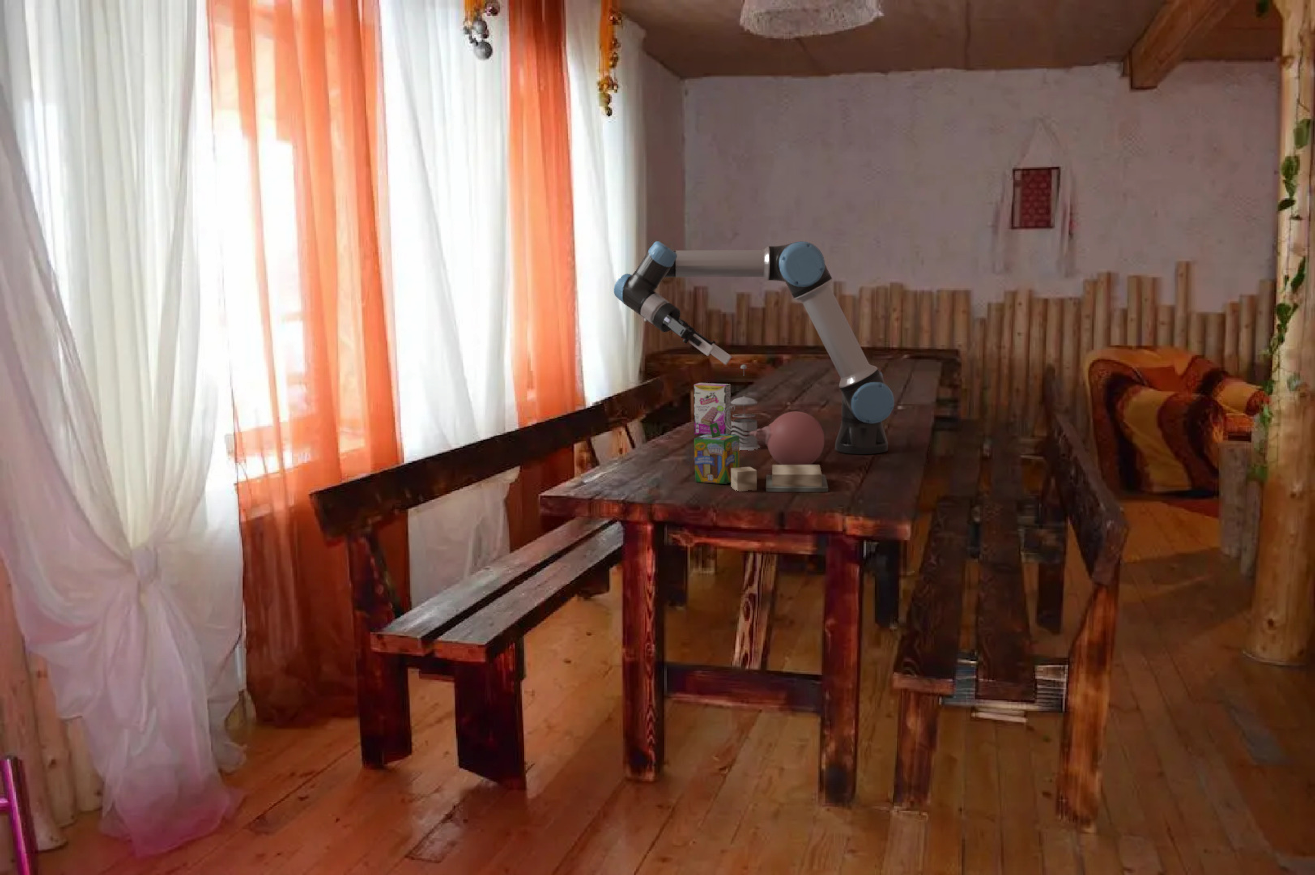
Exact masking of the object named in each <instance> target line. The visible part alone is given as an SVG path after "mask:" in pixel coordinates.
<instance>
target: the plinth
mask: <svg viewBox="0 0 1315 875" xmlns="http://www.w3.org/2000/svg"><path fill="white" fill-rule="evenodd" d="M771 470H772V471H771V473H772V474H766V478H765V480H766V481H765V492H767V493H772V492H773V493H776V492H777V493H780V492H781V493H782V492H784V493H787V492H788V493H789V492H790V493H791V492H793V493H797V492H798V493H799V492H801V493H808V492H809V493H817V492H818V493H828V492H829V485H828V480H827V478H826V475H825V474H822V471H821V470H822V468H821V465H820V464H810V465H781V464H772V465H771Z"/></svg>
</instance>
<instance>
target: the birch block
mask: <svg viewBox="0 0 1315 875" xmlns="http://www.w3.org/2000/svg"><path fill="white" fill-rule="evenodd" d="M757 474H758V472H757V469H755V468H753V467H751V466H741V467H740V468H731V482H730V487H732V488H731V489H733V490H735V491H736V490H737V491H739V492H748V490H752V491H758V490H757V488H758V484H757V483H758V482H757V480H758V475H757ZM737 491H736V492H737Z"/></svg>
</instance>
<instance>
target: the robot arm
mask: <svg viewBox="0 0 1315 875" xmlns="http://www.w3.org/2000/svg"><path fill="white" fill-rule="evenodd" d="M825 263H826V260H825V257H824V254H823V253H822V251H821V250H820V249H819V248H818V247H817V246H816V245H814V244H813V243H810V242H807V241H795V242H792V243H786V244H783V245H771V246H769V245H768V246H766V247H765V248H764V249H727V250H726V249H723V250H721V249H717V250H715V249H714V250H713V249H712V250H711V249H708V250H707V249H705V250H704V249H703V250H702V249H701V250H699V249H698V250H673V249H671V248H670V247H669V246H667V245H665V244H664V243H663V242H661V241H660V240H658V241H657V240H656V241H655V242H653V244H652V245H651V247H649V249H648V251H647V253H646V254H645V255H644V257H643V259H642V260H641V262H640V263H639V265H638V266H637V268H636V269H635V271H634V272H633V273H632V274H630V273H625V274H623V275H621V277H620V278H618V279H617V280H616V282H615V284H614V287H613V295H614V296H615V297H616V298H617V299H618V300H619V301H621V303H623V304H624V305H625V306H626V307H628V308H629V309H631V310H633V311H634V312H635V313H637V314H638V315H639V316H640V317H642V318H644V319H643V322H646V323H647V322H648V323H650V324H652V325H653V326H654V327H655V328H657V329H658V330H660V331H661V332H662V333H668V332H670V331H671V332H673V333H674V334H676V335H678V336H680V338H681V339H683V340H682V342H684V343H685V344H686V345H687V344H688V343H689V344H690V345H692V346H693V347H694V348H696V349H697V350H699V351H700V352H701V353H703V355H706V356H707V357H709V355H710V354H711V355H712V356H713V357H714V358H715V359H717V360H718V361H720V362H721V363H722V364H723V365H726V366H727V365H728V363H729V361H730V360H731V359H732V357H733V356H732V355H731V354H729V353H727V352H726V351H725V350H723V348H721V347H719V346H718V345H716V341H715V340H713V341H711V340H710V339H708V338H706V337H705V336H703V335H702V334H701V333H699V332H698V331H696V330H695V328H694V327H692V326H691V325H690V324H688V322H687V321H685V320H684V319H681V310H680V309H679V308H678V307H677V306H675V305H674V304H672V303H671V302H669V300H667V299H666V298H664V297H663V296H662V295H660V294H659V293H657V292H655V291H656V290H657V289H658V288H659V287H658V286H660V284H661V282H662V281H663V279H664V278H743V277H744V278H764V279H765V280H766V281H776V282H784V283H785V284H786V286H787V288H788V290H789V292H790V294H791V297H792V298H793V299H794V300H796V301H800V302H801V303H802V305H803V307H804V309H805V311H806V312H807V315H808V317H809V319H810V321H811V323H812V324H813V326H814V328H815V330H816V332H817V335H818V336H819V338H820V340H821V342H822V344H823V346H824V348H825V350H826V352H827V354H828V355H829V357H830V359H831V362H832V363H833V366H834V368H835V369H836V372H837V373H838V376H839V377H840V381H839V385H838V387H839V389H840V392H841V422H840V423H841V424H840V426H839V427H840V428H839V430H838V434H837V436H836V438H835V443H834V444H835V445H834V446H835V447H834V449H835V451H837V452H840V453H844V454H851V455H852V454H853V455H873V454H874V455H875V454H882V453H886V452H888V451H889V442H888V439H887V435H886V431H885V429H884V425H883V421H884V420H886V419H887V418H888V417H889V416H890V415H891V413H892V412H893V409H894V407H895V397H894V393H893V391H892V390H891V389H890V387H889V386H888V385H887V384H886V382H885V380H884V376H883V373H882V371H880V370H879V368H878V367H877V366H876V365H873V364H872V365H871V364H870V363H869V361H868V359H867V356H866V355H865V353H864V351H863V349H862V348H861V345H860V343H859V342H858V339H857V338H856V335H855V334H854V331H853V329H852V328H851V326H850V324H849V322H848V320H847V319H848V318H846V315H845V313H844V312H843V310H842V308H841V306H840V303H839V302H838V300H837V298H836V296H835V293H834V291H833V290H832V288H831V286H832V285H831V284H832V281H833V277H832V275H831V273H830V272H829V269H828V267H827V266H826V264H825Z"/></svg>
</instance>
